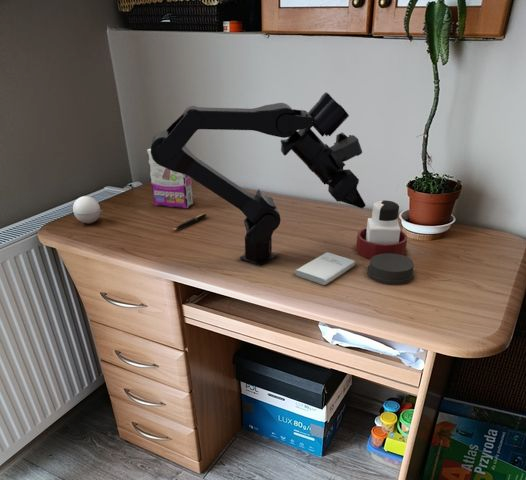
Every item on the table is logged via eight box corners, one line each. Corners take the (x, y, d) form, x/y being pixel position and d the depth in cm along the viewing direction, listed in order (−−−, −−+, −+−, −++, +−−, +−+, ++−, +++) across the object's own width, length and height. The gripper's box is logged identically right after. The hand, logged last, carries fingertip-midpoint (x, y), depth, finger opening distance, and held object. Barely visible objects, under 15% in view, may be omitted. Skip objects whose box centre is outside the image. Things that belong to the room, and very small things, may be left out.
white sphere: (70, 225, 143) (64, 199, 139) (87, 216, 149) (82, 191, 145) (99, 230, 140) (93, 204, 136) (115, 221, 146) (111, 195, 141)
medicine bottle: (393, 245, 130) (400, 198, 123) (396, 257, 124) (403, 208, 117) (364, 244, 131) (370, 197, 124) (366, 256, 125) (372, 207, 118)
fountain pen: (174, 233, 138) (173, 227, 137) (170, 232, 139) (170, 226, 138) (208, 217, 148) (207, 212, 147) (205, 216, 148) (204, 211, 147)
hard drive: (295, 275, 117) (325, 257, 124) (325, 286, 112) (354, 266, 120) (295, 269, 116) (325, 251, 123) (325, 279, 111) (355, 260, 119)
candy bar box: (194, 203, 157) (189, 147, 148) (187, 209, 153) (182, 151, 144) (161, 200, 160) (154, 145, 150) (153, 205, 156) (146, 149, 146)
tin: (392, 265, 121) (394, 249, 118) (347, 253, 126) (349, 237, 124) (412, 248, 128) (415, 233, 126) (369, 237, 134) (371, 222, 132)
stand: (402, 289, 111) (404, 276, 109) (358, 276, 116) (360, 264, 114) (421, 271, 118) (423, 259, 116) (379, 260, 123) (380, 248, 121)
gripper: (353, 133, 101) (399, 186, 109) (330, 115, 117) (372, 162, 124) (312, 175, 105) (359, 224, 113) (295, 152, 120) (338, 196, 128)
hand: (358, 200), depth 119 cm, fingers open, 9 cm apart
